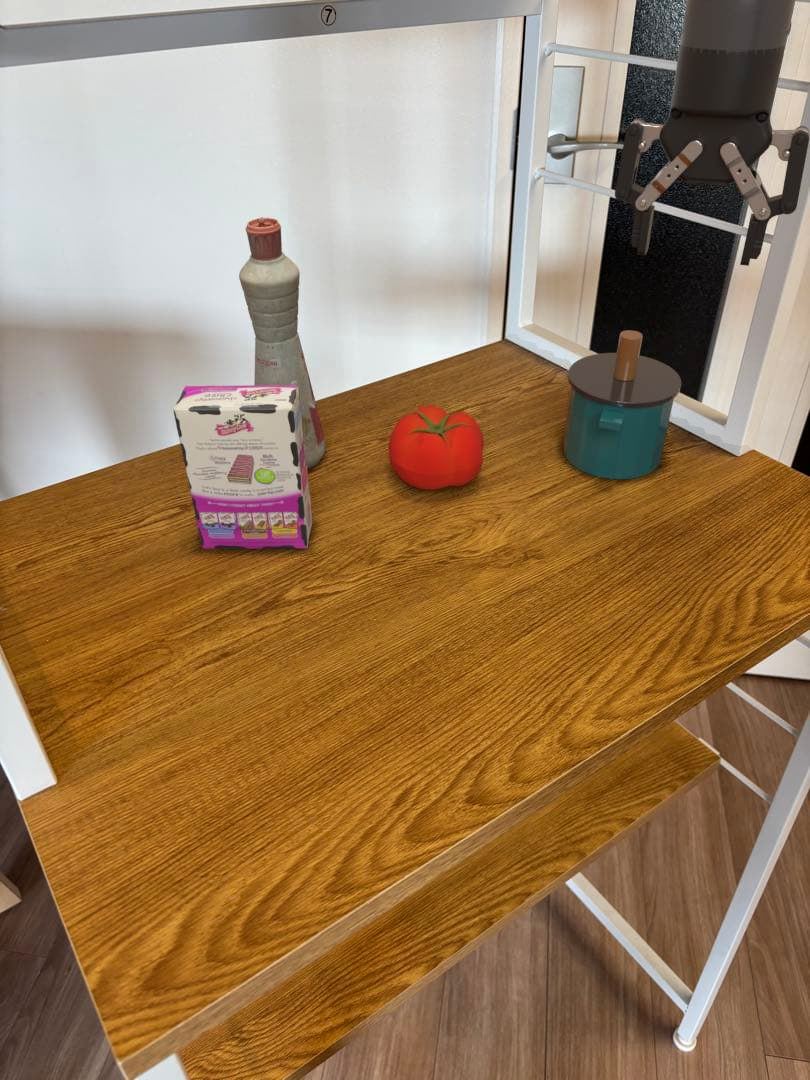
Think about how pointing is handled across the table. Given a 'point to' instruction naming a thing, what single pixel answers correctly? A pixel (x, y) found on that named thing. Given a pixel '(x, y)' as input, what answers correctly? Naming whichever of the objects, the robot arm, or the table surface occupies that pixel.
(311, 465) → the bottle
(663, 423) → the pot
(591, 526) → the table surface
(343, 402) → the table surface
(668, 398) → the lid
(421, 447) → the tomato
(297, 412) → the candy bar box
